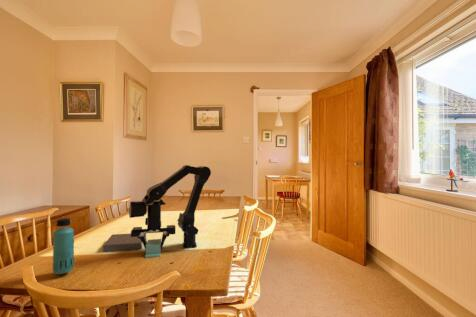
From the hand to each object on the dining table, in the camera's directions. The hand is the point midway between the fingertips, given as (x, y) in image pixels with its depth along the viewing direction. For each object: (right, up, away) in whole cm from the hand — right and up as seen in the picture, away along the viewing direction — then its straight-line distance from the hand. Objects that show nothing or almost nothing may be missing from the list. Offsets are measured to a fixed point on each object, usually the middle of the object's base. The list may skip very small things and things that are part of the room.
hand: (153, 249), depth 113 cm
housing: (0, -1, 0) cm, 1 cm away
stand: (-17, -1, +9) cm, 19 cm away
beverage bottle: (-25, -1, -22) cm, 34 cm away
